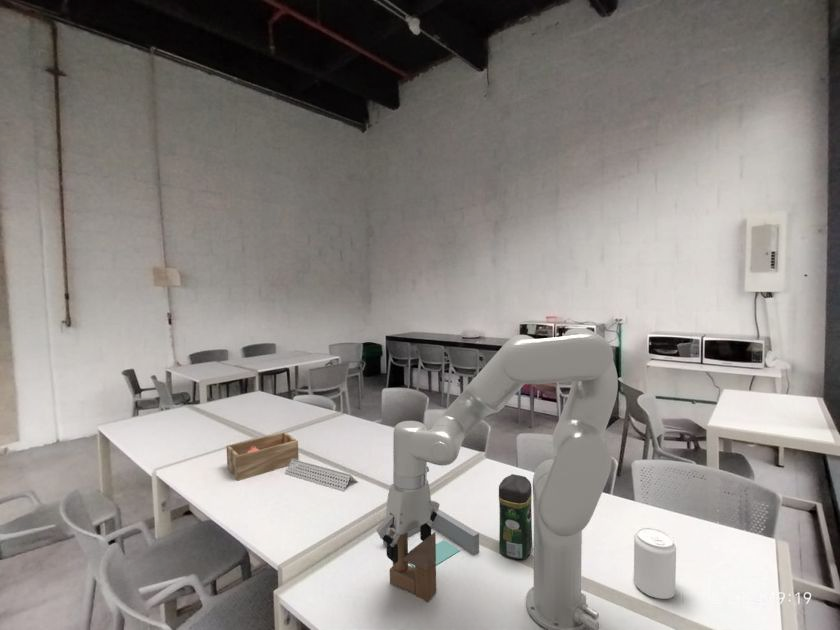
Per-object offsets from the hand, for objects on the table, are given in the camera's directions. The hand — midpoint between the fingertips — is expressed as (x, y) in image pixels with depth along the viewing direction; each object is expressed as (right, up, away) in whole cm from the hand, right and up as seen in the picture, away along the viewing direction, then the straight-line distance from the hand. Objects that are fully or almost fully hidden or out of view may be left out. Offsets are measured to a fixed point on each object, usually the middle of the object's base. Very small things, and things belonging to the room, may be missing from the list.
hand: (409, 550), depth 91 cm
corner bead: (-34, -7, +56) cm, 66 cm away
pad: (+6, -8, +11) cm, 15 cm away
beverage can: (+55, -8, -1) cm, 56 cm away
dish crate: (-60, -6, +67) cm, 90 cm away
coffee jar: (+27, -8, +14) cm, 32 cm away
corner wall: (+5, -8, +15) cm, 17 cm away
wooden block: (+1, -9, 0) cm, 9 cm away
